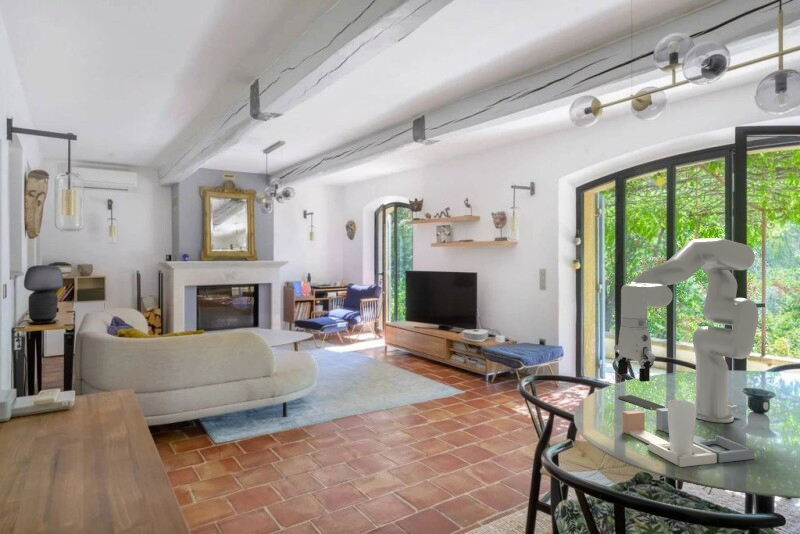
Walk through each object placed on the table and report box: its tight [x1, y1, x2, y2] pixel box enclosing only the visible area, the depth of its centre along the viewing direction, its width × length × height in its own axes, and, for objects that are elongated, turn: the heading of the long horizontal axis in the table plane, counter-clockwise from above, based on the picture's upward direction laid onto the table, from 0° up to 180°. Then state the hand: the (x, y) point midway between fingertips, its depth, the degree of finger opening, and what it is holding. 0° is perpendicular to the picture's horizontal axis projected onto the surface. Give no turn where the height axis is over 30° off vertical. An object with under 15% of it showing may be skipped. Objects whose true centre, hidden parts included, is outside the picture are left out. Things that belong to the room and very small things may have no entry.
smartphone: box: [617, 394, 666, 411], centre depth 183 cm, size 7×1×16 cm
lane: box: [622, 410, 718, 468], centre depth 140 cm, size 11×26×6 cm, turn 13°
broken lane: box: [655, 407, 755, 463], centre depth 142 cm, size 11×26×6 cm, turn 13°
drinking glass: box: [667, 399, 697, 456], centre depth 133 cm, size 7×7×15 cm
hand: (633, 377), depth 151 cm, fingers open, 9 cm apart
